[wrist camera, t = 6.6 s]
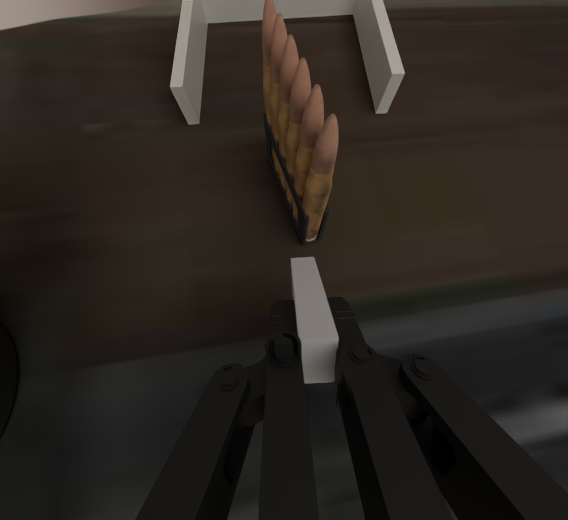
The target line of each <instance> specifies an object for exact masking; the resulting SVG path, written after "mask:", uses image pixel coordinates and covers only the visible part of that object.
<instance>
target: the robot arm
mask: <svg viewBox="0 0 568 520" xmlns="http://www.w3.org/2000/svg"><path fill="white" fill-rule="evenodd" d="M291 276H292V296H293V300H287V301H275V303H274V305H273V306H272V308H271V327H270V336H269V337H268V339H267V340H266V344H265V348H266V356H265V358H264V359H263V360H261V361H260V362H258V363H256V364H254V365H251V366H248V367H246V368H244V367H243V366H242V365H239V364H237V363H231V364H227V365H224V366H222V367H221V368H220V369H218V370H217V371H216V372H215V374H214V375H213V376H212V378H211V380H210V382H209V384H208V385H207V387H206V389H205V391H204V393H203V395H202V397H201V399H200V400H199V402H198V404H197V406H196V408H195V410H194V412H193V413H192V415H191V417H190V419H189V421H188V423H187V425H186V426H185V428H184V430H183V432H182V434H181V436H180V438H179V439H178V441H177V443H176V445H175V447H174V449H173V451H172V452H171V454H170V456H169V458H168V460H167V462H166V464H165V466H164V467H163V469H162V471H161V473H160V475H159V477H158V479H157V480H156V482H155V484H154V486H153V488H152V490H151V492H150V493H149V495H148V497H147V499H146V501H145V503H144V505H143V506H142V508H141V510H140V512H139V514H138V516H137V518H136V519H135V520H227V517H228V514H229V511H230V507H231V504H232V500H233V497H234V494H235V490H236V487H237V483H238V480H239V477H240V473H241V470H242V467H243V463H244V460H245V456H246V453H247V450H248V446H249V443H250V439H251V436H252V433H253V429H254V426H255V424H256V423H258V422H261V421H263V420H264V426H263V444H262V462H261V481H260V499H259V517H258V520H319V515H318V506H317V496H316V487H315V478H314V468H313V459H312V450H311V440H310V431H309V422H308V412H307V403H306V394H305V383H325V382H334V381H335V377H336V381H337V385H338V387H337V396H336V407H339V405H340V410H341V414H342V419H343V423H344V427H345V432H346V436H347V441H348V445H349V449H350V454H351V458H352V463H353V467H354V471H355V476H356V480H357V485H358V489H359V493H360V498H361V502H362V506H363V511H364V515H365V520H453V518H452V516H451V514H450V511H449V509H448V507H447V505H446V503H445V501H444V498H445V499H446V501H447V503H448V504H449V506H450V507H451V509H452V510H453V512H454V513H455V515H456V517H457V518H458V520H568V493H567V492H566V491H565V490H564V489H563V488H562V487H561V486H560V485H559V484H558V483H556V482H555V481H554V480H553V479H552V478H551V477H550V476H549V475H548V474H547V473H546V472H545V471H544V470H543V469H542V468H541V467H540V466H539V465H538V464H537V463H536V462H535V461H534V460H533V459H532V458H531V457H530V456H529V455H528V454H527V453H526V452H525V451H524V450H523V449H522V448H521V447H520V446H519V445H518V444H517V443H516V442H515V441H514V440H513V439H512V438H511V437H510V436H509V435H508V434H507V433H506V432H505V431H504V430H503V429H502V428H501V427H500V426H499V425H498V424H497V423H496V422H495V421H494V420H493V419H492V418H491V417H490V416H489V415H488V414H487V413H486V412H485V411H484V410H483V409H482V408H481V407H480V406H479V405H478V404H477V403H476V402H475V401H474V400H473V399H472V398H471V397H470V396H469V395H468V394H467V393H466V392H465V391H464V390H463V389H462V388H461V387H460V386H459V385H458V384H457V383H456V382H455V381H454V380H453V379H452V378H451V377H450V376H449V375H448V374H447V373H446V372H445V371H444V370H443V369H442V368H441V367H440V366H439V365H438V364H437V363H435V362H434V361H433V360H431V359H430V358H428V357H426V356H423V355H419V354H408V355H406V356H404V357H403V360H397V359H393V358H389V357H385V356H382V355H380V354H378V353H376V352H375V351H374V350H373V348H371V347H370V346H369V345H367V344H366V342H365V340H364V338H363V335H362V333H361V331H360V329H359V326H358V324H357V322H356V319H355V318H354V315H353V313H352V310H351V308H350V306H349V303H348V302H347V301H346V300H344V299H343V298H342V297H333V298H326V294H325V291H324V288H323V285H322V281H321V278H320V275H319V272H318V268H317V265H316V262H315V259H314V257H303V258H291ZM16 383H17V361H16V355H15V350H14V347H13V344H12V341H11V339H10V337H9V335H8V334H7V332H6V331H5V329H4V328H3V327H2V326H1V325H0V435H1V433H2V431H3V428H4V426H5V424H6V422H7V419H8V416H9V414H10V410H11V407H12V404H13V400H14V396H15V390H16ZM441 493H442V494H441ZM442 495H443V496H444V498H443V496H442Z"/></svg>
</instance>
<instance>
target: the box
mask: <svg viewBox="0 0 568 520" xmlns="http://www.w3.org/2000/svg"><path fill="white" fill-rule="evenodd" d="M273 2H274V5H275V8H276V13H277V14H278V13H280V14H281V15H282V18H283V19H288V18H304V17H320V16H337V15H353V17H354V21H355V25H356V30H357V34H358V38H359V43H360V47H361V51H362V56H363V60H364V65H365V69H366V73H367V78H368V82H369V86H370V91H371V95H372V99H373V104H374V108H375V113H376V114H383V113H387V111H388V109H389V107H390V105H391V102H392V100H393V98H394V96H395V94H396V92H397V89H398V87H399V85H400V83H401V81H402V79H403V76H404V74H405V72H404V69H403V66H402V62H401V59H400V56H399V52H398V49H397V46H396V43H395V39H394V36H393V33H392V29H391V26H390V23H389V19H388V16H387V13H386V10H385V6H384V3H383V0H273ZM264 3H265V0H183V1H182V8H181V15H180V22H179V28H178V35H177V42H176V49H175V56H174V63H173V69H172V76H171V83H170V89H171V91H172V93H173V95H174V97H175V99H176V101H177V103H178V105H179V107H180V109H181V111H182V113H183V115H184V117H185V119H186V121H187V123H188V125H194V124H199V120H200V109H201V97H202V85H203V74H204V62H205V50H206V39H207V27H208V23H223V22H239V21H255V20H263V9H264Z"/></svg>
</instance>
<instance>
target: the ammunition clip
mask: <svg viewBox="0 0 568 520" xmlns="http://www.w3.org/2000/svg"><path fill="white" fill-rule="evenodd" d="M262 49H263V69H264V78H263V92H264V101H265V111H266V114H264V115H263V116H264V125H265V133H266V142H267V150H268V159H269V162H270V164H271V167H272V169H273V172H274V175H275V177H276V180H277V182H278V185H279V188H280V190H281V193H282V196H283V198H284V201H285V203H286V206H287V209H288V211H289V214H290V216H291V219H292V222H293V224H294V227H295V229H296V232H297V235H298V237H299V240H300V243H301V245H302V246H305V245H308V244H311V243H314V242H317V241H320V240H321V236H322V233H323V230H324V226H325V223H326V220H327V216H328V213H329V208H328V206H327V201H328V198H329V194H330V191H331V188H332V175H333V170H334V164H335V160H336V156H337V149H338V123H337V119H336V116H335V115H334V114H331V115H330V116H329V117H328V118H327V120H326V121H325V123H324V105H323V96H322V92H321V88H320V86H319V85H318V84H316V85H315V86H314V87H313V89H312V91H311V83H310V75H309V70H308V66H307V63H306V60H305V58H301V59H300V61H299V58H298V53H297V47H296V44H295V41H294V38H293V36H292V35H291V34H289V35H288V37H287V32H286V27H285V23H284V20H283V18H282V15H281V14H280V13H278V14H277V13H276V8H275V5H274V2H273V0H265V3H264V9H263V21H262Z"/></svg>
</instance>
